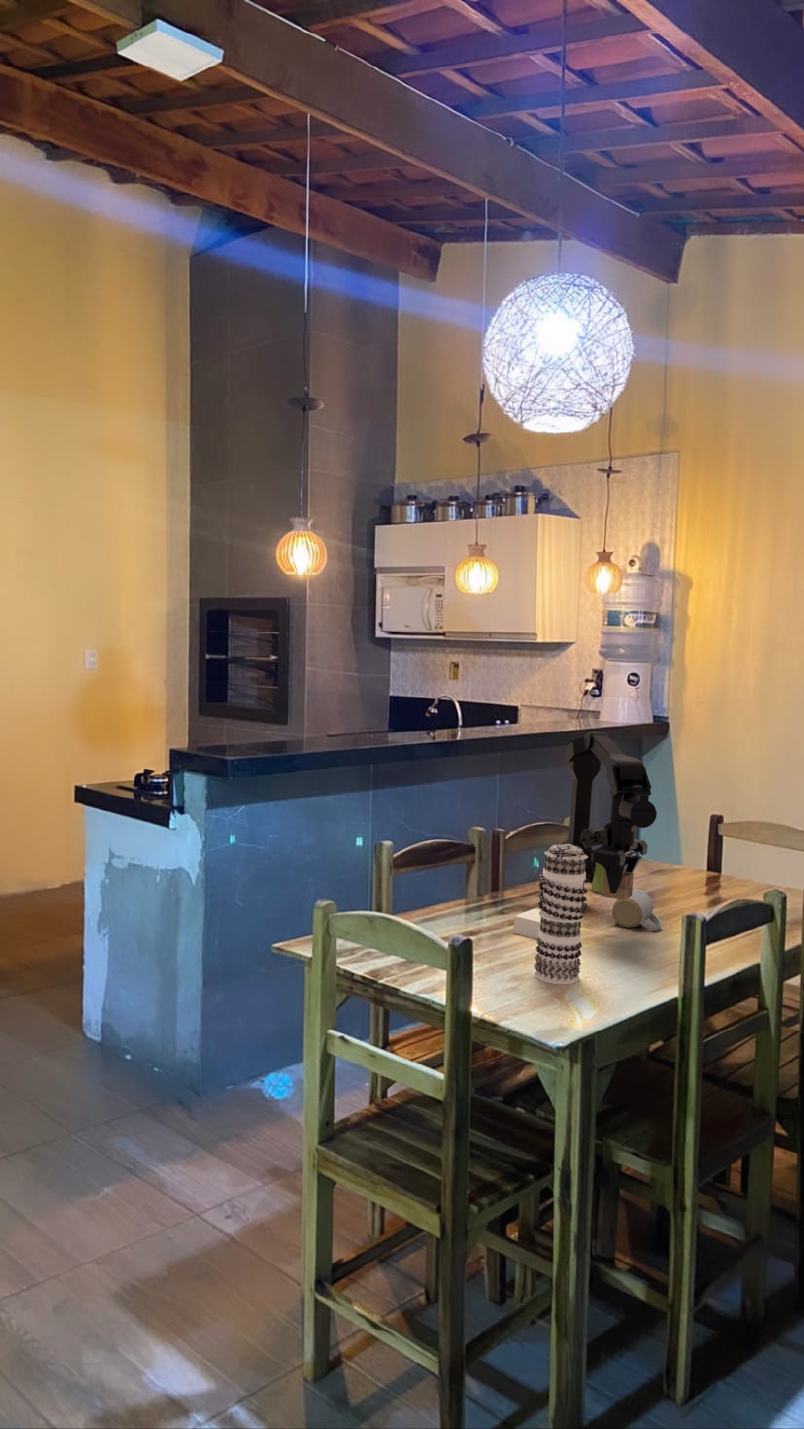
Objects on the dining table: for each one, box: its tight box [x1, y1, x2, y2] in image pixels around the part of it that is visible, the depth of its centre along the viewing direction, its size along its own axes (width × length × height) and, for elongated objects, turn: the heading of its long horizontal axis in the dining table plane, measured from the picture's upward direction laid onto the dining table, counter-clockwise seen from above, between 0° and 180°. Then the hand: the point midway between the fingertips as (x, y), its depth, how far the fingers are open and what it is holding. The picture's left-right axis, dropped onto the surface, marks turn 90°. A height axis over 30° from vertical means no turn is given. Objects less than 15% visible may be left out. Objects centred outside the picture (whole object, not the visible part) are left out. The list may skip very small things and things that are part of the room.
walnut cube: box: [601, 871, 635, 900], centre depth 218 cm, size 5×5×5 cm
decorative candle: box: [533, 843, 589, 986], centre depth 192 cm, size 9×9×25 cm
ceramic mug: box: [611, 888, 663, 932], centre depth 231 cm, size 11×8×8 cm
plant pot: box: [590, 863, 606, 895], centre depth 262 cm, size 9×9×9 cm
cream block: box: [512, 908, 541, 939], centre depth 221 cm, size 9×9×4 cm
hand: (617, 890), depth 218 cm, fingers closed on walnut cube, 5 cm apart
